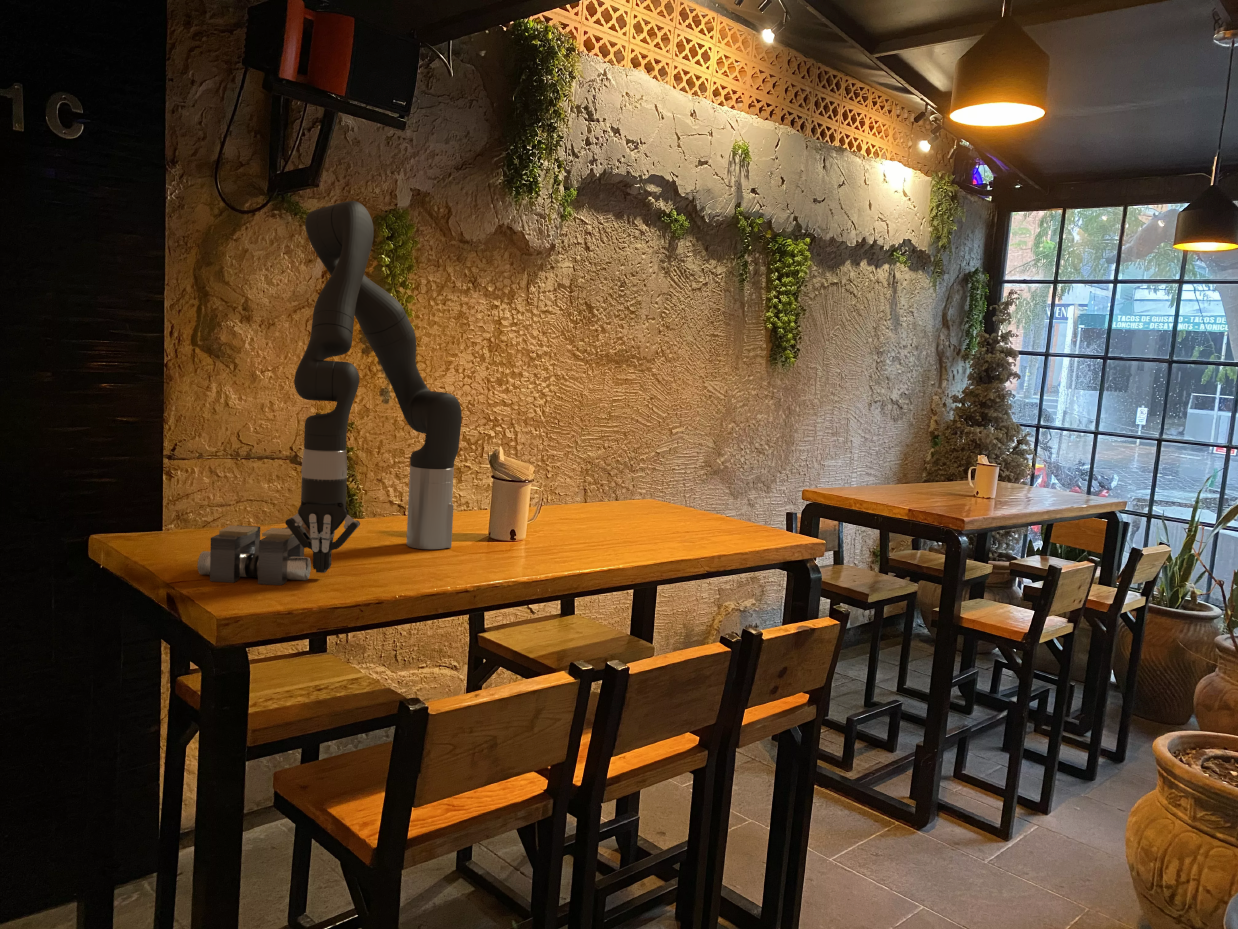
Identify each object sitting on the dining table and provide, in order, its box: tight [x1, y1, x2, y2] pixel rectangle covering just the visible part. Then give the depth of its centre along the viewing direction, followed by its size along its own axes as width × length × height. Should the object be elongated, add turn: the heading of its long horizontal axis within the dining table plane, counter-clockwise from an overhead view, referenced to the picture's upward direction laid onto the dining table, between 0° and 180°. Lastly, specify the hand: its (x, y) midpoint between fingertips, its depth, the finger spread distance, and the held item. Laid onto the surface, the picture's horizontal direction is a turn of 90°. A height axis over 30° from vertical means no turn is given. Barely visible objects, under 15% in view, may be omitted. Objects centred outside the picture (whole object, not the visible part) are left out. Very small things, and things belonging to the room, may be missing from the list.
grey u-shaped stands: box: [209, 524, 305, 586], centre depth 155 cm, size 12×12×8 cm
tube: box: [197, 551, 312, 581], centre depth 153 cm, size 18×4×4 cm
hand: (321, 571), depth 155 cm, fingers closed
